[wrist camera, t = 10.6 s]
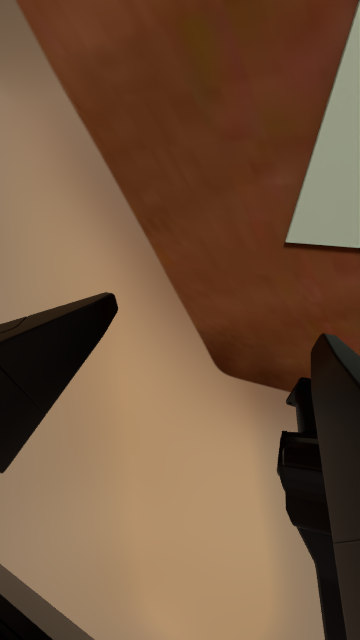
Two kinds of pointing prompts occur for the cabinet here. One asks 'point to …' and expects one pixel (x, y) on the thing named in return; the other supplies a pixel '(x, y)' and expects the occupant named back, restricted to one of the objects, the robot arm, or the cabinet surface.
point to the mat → (334, 162)
